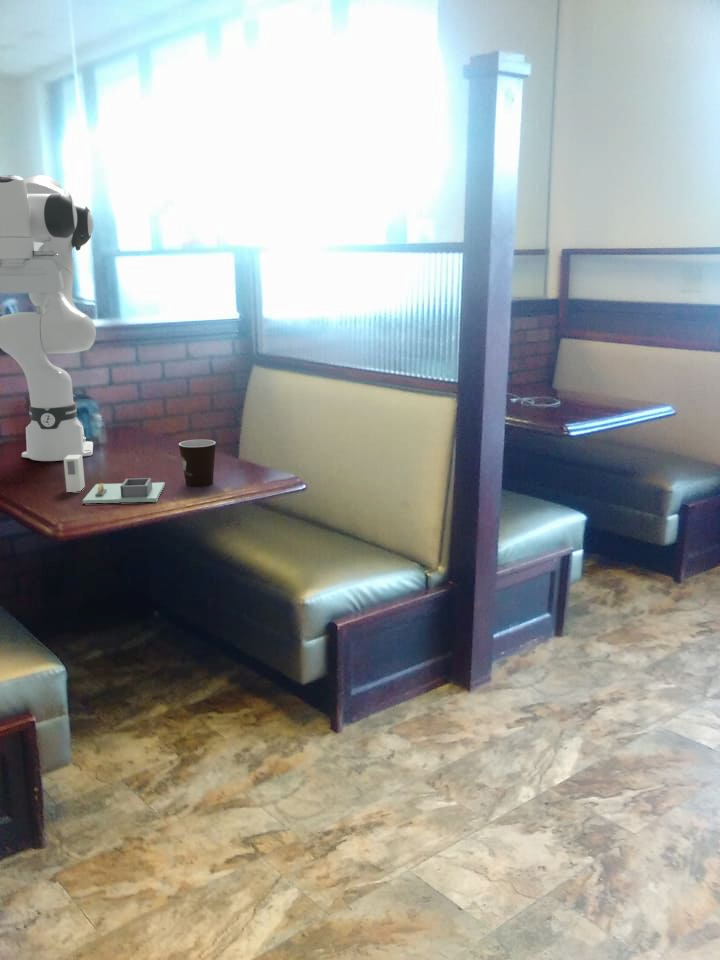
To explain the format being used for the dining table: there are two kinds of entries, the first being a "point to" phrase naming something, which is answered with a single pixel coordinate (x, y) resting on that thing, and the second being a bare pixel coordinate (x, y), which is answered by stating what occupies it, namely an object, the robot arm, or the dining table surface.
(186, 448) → the coffee mug
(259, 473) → the dining table surface
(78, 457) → the plug
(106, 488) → the board
